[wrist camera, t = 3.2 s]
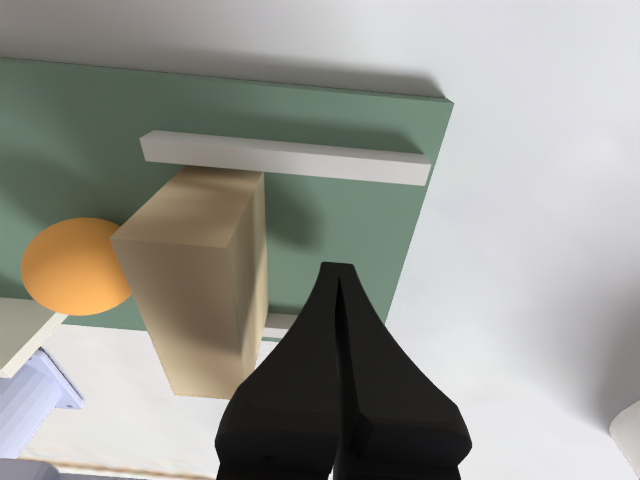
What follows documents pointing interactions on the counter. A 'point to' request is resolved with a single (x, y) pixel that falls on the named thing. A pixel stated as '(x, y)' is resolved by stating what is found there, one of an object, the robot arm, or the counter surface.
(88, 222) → the ball
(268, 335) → the pitch mat
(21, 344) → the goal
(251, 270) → the block
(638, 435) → the honey pot
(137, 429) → the counter surface
